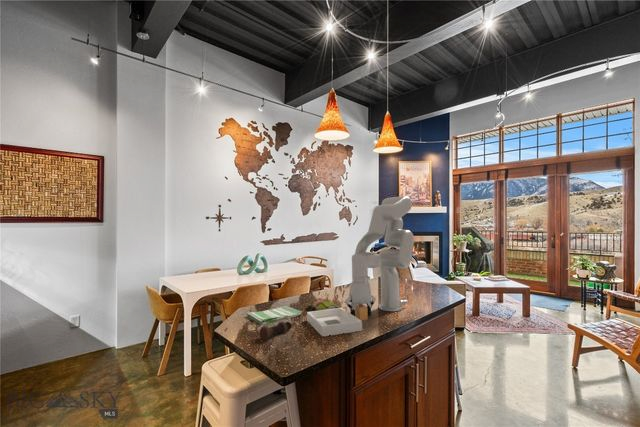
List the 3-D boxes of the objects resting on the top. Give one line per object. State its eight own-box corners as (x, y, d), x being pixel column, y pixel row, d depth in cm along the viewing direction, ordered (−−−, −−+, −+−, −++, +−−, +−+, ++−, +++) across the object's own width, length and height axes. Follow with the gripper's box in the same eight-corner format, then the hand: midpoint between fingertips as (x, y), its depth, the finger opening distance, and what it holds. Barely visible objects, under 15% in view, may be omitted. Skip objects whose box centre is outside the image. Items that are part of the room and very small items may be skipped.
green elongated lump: (326, 316, 143) (302, 297, 164) (328, 329, 145) (304, 308, 166) (346, 307, 149) (320, 290, 170) (348, 320, 151) (322, 301, 172)
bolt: (291, 334, 130) (264, 344, 118) (284, 326, 133) (257, 335, 121) (295, 323, 128) (269, 332, 117) (288, 316, 131) (262, 324, 119)
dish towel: (303, 315, 151) (303, 310, 151) (262, 326, 136) (262, 320, 136) (284, 308, 165) (284, 303, 165) (245, 317, 150) (245, 312, 150)
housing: (341, 315, 147) (341, 307, 148) (362, 330, 127) (362, 321, 127) (307, 320, 142) (307, 312, 142) (322, 336, 121) (322, 326, 121)
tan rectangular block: (361, 316, 147) (361, 300, 147) (367, 319, 141) (367, 303, 141) (354, 317, 145) (354, 301, 146) (360, 320, 140) (359, 304, 140)
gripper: (372, 277, 150) (373, 312, 149) (340, 279, 145) (341, 316, 144) (379, 279, 143) (380, 316, 142) (346, 282, 137) (347, 321, 137)
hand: (360, 316), depth 143 cm, fingers open, 7 cm apart
